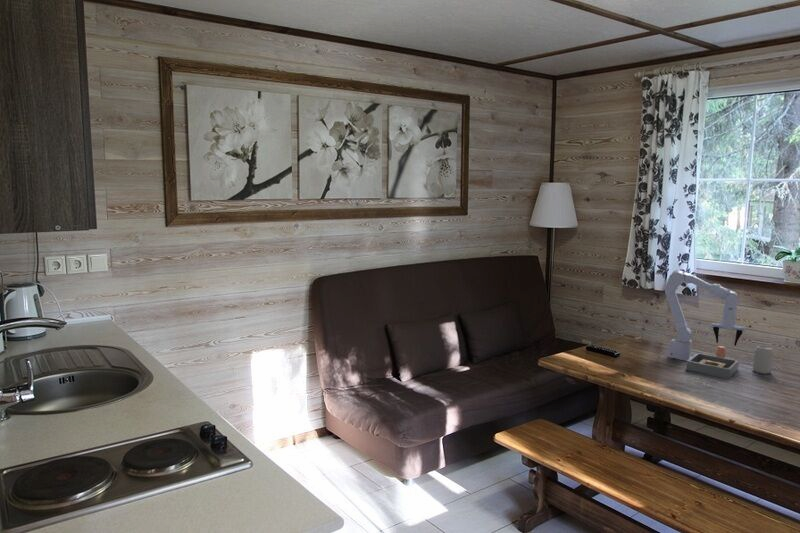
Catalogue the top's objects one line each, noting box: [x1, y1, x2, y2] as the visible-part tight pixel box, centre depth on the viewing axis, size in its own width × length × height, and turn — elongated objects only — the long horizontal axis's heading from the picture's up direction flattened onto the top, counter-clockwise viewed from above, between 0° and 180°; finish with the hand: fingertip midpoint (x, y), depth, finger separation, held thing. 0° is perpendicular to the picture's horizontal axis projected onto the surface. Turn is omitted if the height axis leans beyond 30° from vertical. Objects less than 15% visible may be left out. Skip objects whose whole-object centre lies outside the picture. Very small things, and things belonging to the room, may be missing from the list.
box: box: [686, 352, 740, 380], centre depth 278 cm, size 18×18×4 cm
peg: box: [715, 345, 727, 358], centre depth 290 cm, size 4×4×8 cm
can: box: [752, 345, 774, 375], centre depth 277 cm, size 8×8×12 cm
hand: (726, 343), depth 287 cm, fingers open, 7 cm apart
